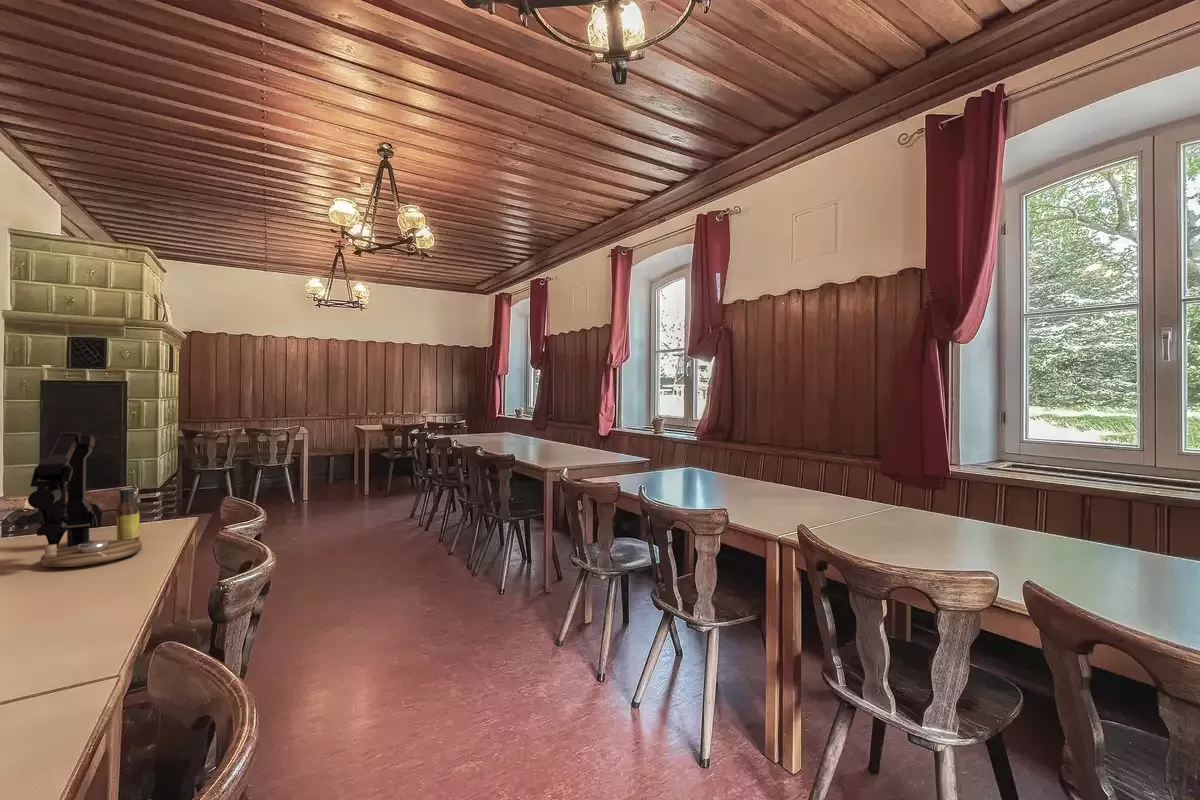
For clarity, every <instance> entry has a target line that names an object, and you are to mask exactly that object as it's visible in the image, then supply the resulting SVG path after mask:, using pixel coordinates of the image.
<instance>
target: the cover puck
mask: <svg viewBox="0 0 1200 800" xmlns="http://www.w3.org/2000/svg"><path fill="white" fill-rule="evenodd" d="M108 541H109V540H108V539H95V540H91V541H88V542H84V543H80V544H79V545H78V553H81V554H87V553H95V552H100V551H104V550H106V549H108Z"/></svg>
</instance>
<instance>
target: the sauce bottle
mask: <svg viewBox="0 0 1200 800" xmlns="http://www.w3.org/2000/svg"><path fill="white" fill-rule="evenodd" d="M118 492H119V503H118V505H117V506H116V509H115V510H116V511H115V512H116V517H115V518H116V523H115V524H116V540H136V541H140V537H141V531H140V529H141V528H140V509H139V507H138V504H137V502H136V500H135V495H134V492H135V488H134V487H125V488H121V489H120V488H119V491H118Z"/></svg>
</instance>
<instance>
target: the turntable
mask: <svg viewBox="0 0 1200 800" xmlns="http://www.w3.org/2000/svg"><path fill="white" fill-rule="evenodd" d="M57 548H58V546H57V544H50V545H49V544H47V545H46V544H45V545H44V554H43V555H42V556H40V565H41V566H44V567H49V568H66V567H78V566H79V567H81V566H88V565H89V564H91V565H95V564H96V563H97V564H100V563H101V562H102V563H105V562H110V561H115V560H120V559H124V558H126V557H130V556H132V555H135V554H137V553H139V552H140V551H142V550H143V542H141V541H140V540H139V541H136V540H117V539H112V540H108V549H106V550H104V551H100V552H95V553H87V554H81V553H78V545H75V546H70V547H66V548H65V547H63V548H59V549H57ZM89 566H90V565H89Z"/></svg>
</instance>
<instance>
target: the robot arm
mask: <svg viewBox="0 0 1200 800" xmlns="http://www.w3.org/2000/svg"><path fill="white" fill-rule="evenodd" d="M57 436H58V437H57V442H56V443H55V446H54V448H53V449H52V451H51V453H50V456H49V457H46V458H44V459H41V461H40V462H39V463H38V465H37V466H35V467H34V471H33V473H32V474H33V475H32V479H31V482H30V487H31V488H35V487H36V490H34V491H33V492H32V493H31V494H30V495H29V496H28V497H27V502H28V505H29V506H31V507H32V508H34V509H37V510H34V511H30V512H28V513H24V514H21V515H17V516H16V517H14V518H13V519H12V522H13V525H14V526H15V528H16V529H17V530H21V529H24V528H25V527H26V528H27V527H29V526H31V525H35V524H36V523H37V525H38V527H37V528H36V536H39V537H40V536H41V537H42V536H45V537H46V540H47V543H48V544H47V545H50V544H57V547H59V544H60V542H61V541H62V539H63V537H64V535H65V533H66V543H65V545H64V548H66V547H70V546H75V545H79V544H80V543H84V542H88V541H92V540H91V539H90V529H92V528H95V527H96V528H97V527H98V520H97V516H96V514H95V513H94V510H93V507H92V505H91V503H90V502H89V501H88V500H87V499H86V498H87V497H86V496H87V494H86V493H87V491H86V488H87V487H86V485H87V484H86V483H87V458H89V456H90V455H91V453H93V449H94V448H95V444H96V442H95V441H96V440H95V437H94V436H92V435H91V434H82V433H80V432H73V431H72V432H61V433H59V434H58V435H57Z"/></svg>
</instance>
